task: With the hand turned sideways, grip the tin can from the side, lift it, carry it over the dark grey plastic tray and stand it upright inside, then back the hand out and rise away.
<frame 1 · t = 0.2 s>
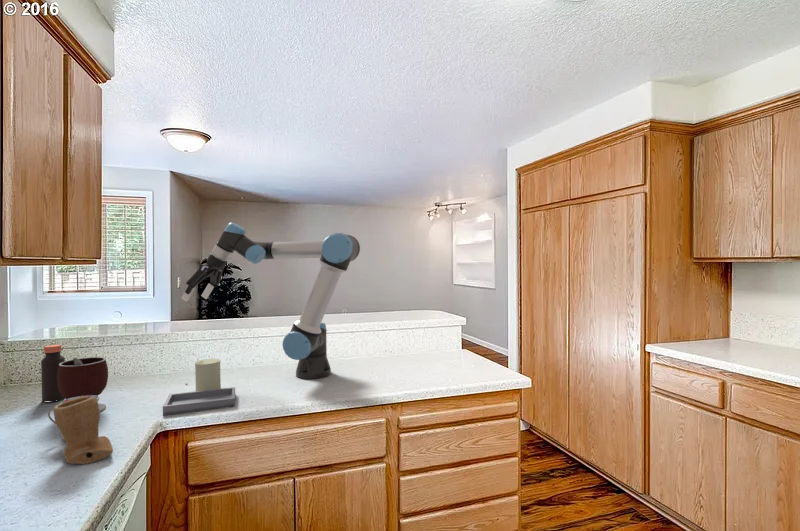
hand: (194, 298, 183), 35 cm above the counter, tool tilted 35°, fingers open, 13 cm apart
mate gourd: (83, 412, 145), on the counter
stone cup: (83, 456, 112), on the counter
bottle: (53, 400, 159), on the counter
mug: (75, 438, 124), on the counter
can: (208, 391, 167), on the counter
tray: (201, 404, 151), on the counter
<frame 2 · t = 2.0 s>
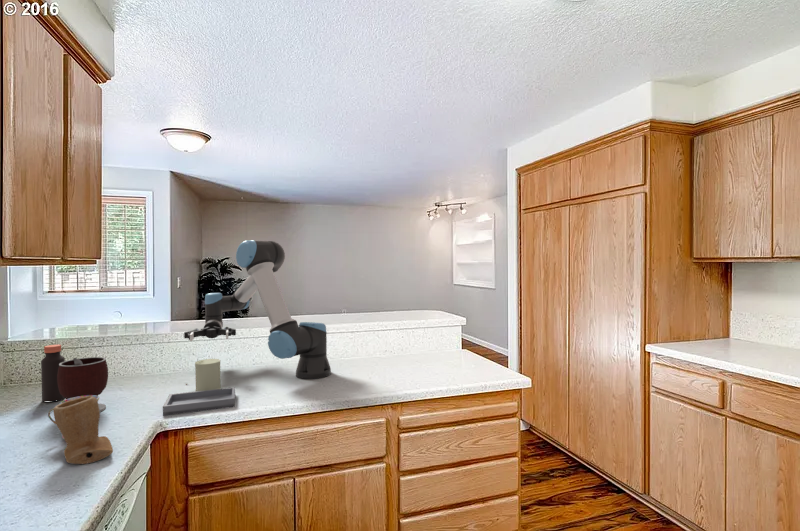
hand: (209, 336, 176), 19 cm above the counter, tool horizontal, fingers open, 13 cm apart
nothing on the counter moved.
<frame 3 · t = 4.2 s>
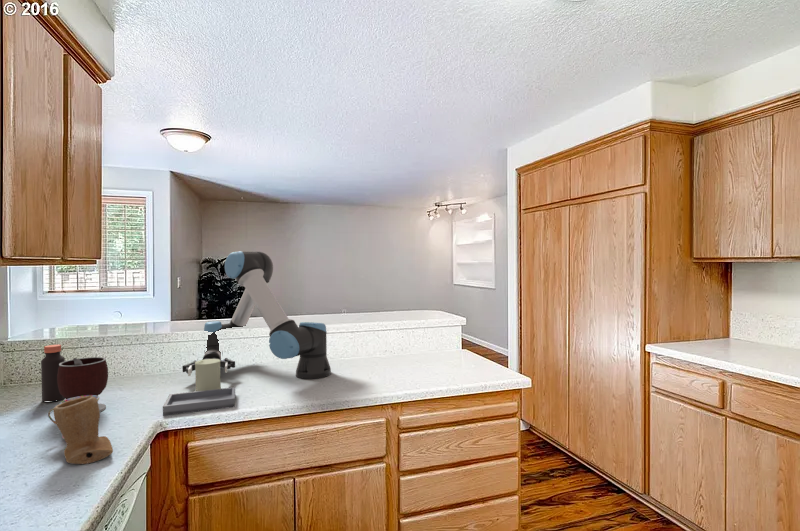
hand: (207, 371, 172), 6 cm above the counter, tool horizontal, fingers open, 13 cm apart
nothing on the counter moved.
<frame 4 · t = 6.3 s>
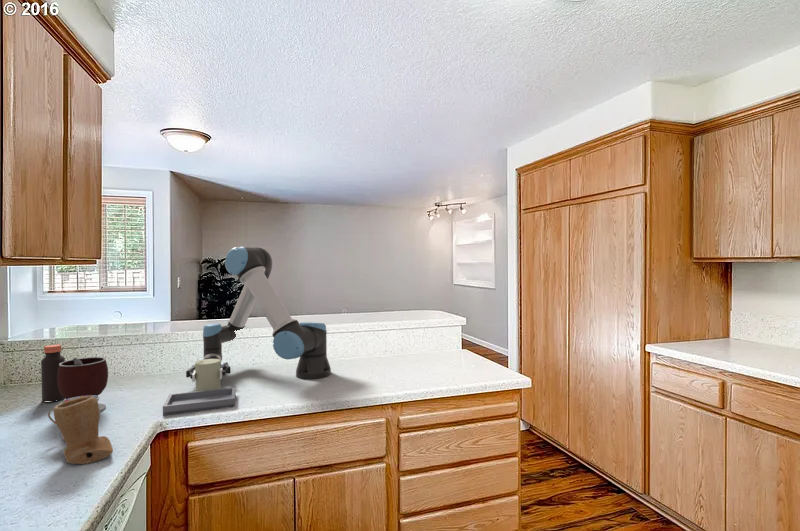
hand: (207, 377, 163), 7 cm above the counter, tool horizontal, fingers closed on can, 9 cm apart
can: (208, 391, 167), on the counter, touching gripper
everything else where it was.
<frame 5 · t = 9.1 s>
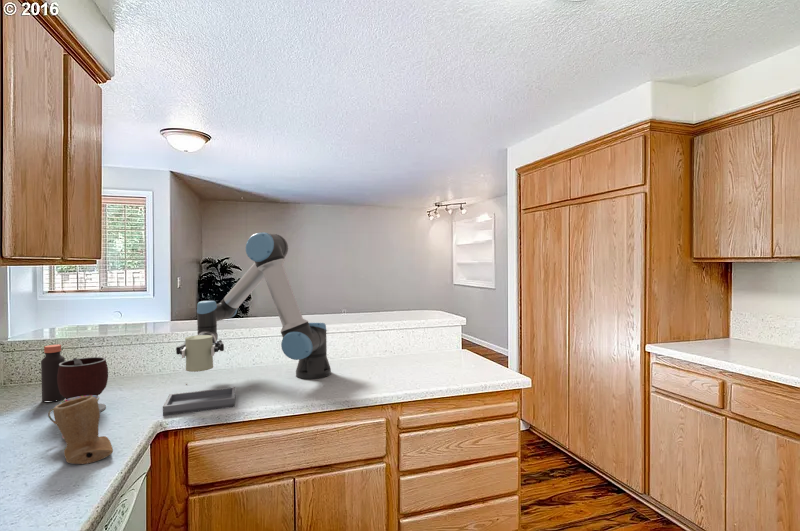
hand: (197, 353, 152), 18 cm above the counter, tool horizontal, fingers closed on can, 9 cm apart
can: (199, 369, 157), point 11 cm above the counter, touching gripper
everything else where it was.
when the fingers open (9 cm above the counter, at t = 11.8 s): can drops 1 cm, resting on tray.
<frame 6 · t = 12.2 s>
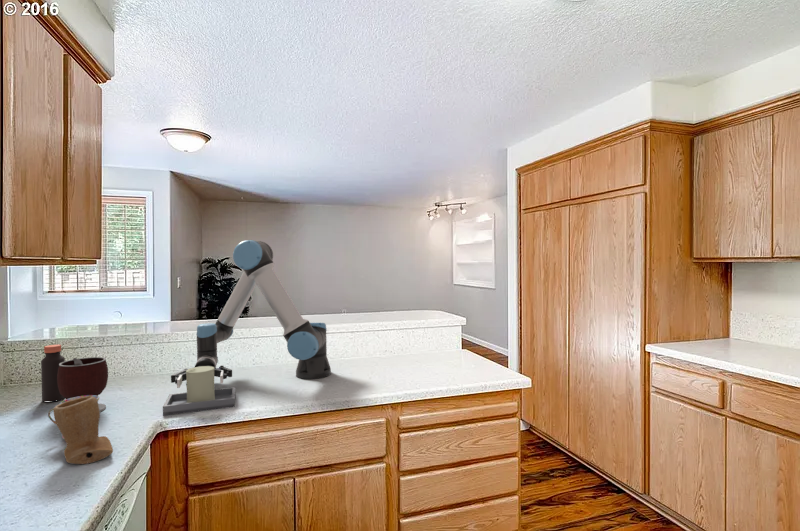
hand: (200, 381, 148), 9 cm above the counter, tool horizontal, fingers open, 13 cm apart
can: (201, 402, 151), point 1 cm above the counter, touching tray
everything else where it was.
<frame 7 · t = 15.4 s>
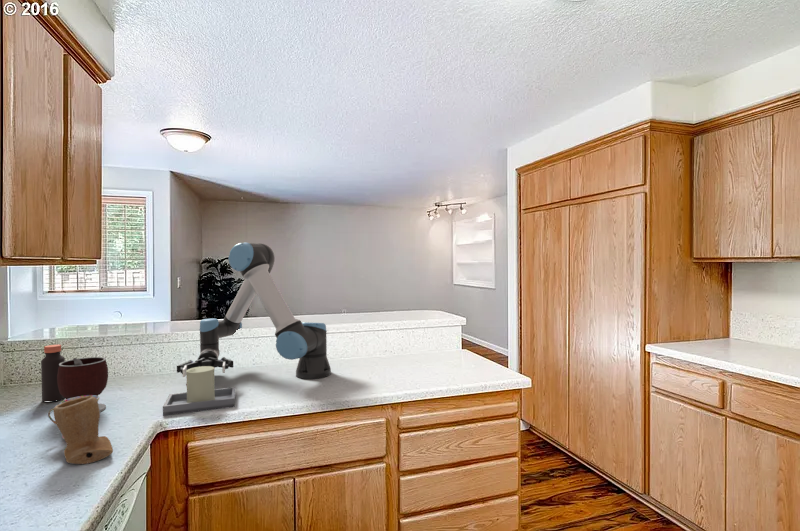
hand: (204, 371, 160), 9 cm above the counter, tool horizontal, fingers open, 13 cm apart
nothing on the counter moved.
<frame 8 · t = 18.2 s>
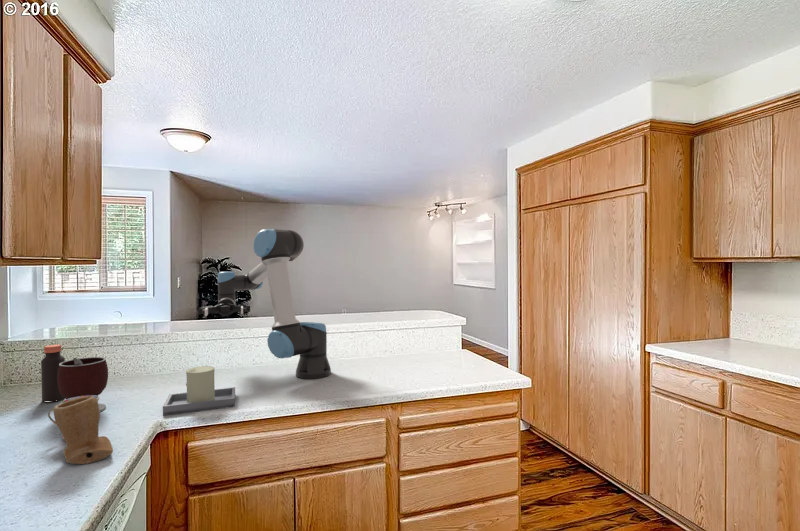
hand: (224, 311, 173), 30 cm above the counter, tool horizontal, fingers open, 13 cm apart
nothing on the counter moved.
at the end: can inside the target area on the tray (0.2 cm from its centre), point 0.8 cm above the tray's base; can tilted 0°; the gripper is holding nothing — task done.
